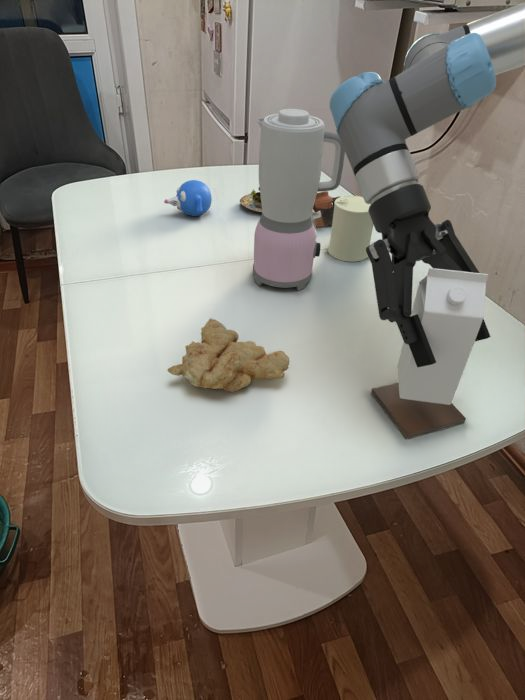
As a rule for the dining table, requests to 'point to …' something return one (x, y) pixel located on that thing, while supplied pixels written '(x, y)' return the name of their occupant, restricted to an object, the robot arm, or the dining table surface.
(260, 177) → the blender
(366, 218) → the can
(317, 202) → the pottery mug
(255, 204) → the plate of food
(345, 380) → the dining table surface
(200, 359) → the ginger root
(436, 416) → the coaster board
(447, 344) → the milk carton
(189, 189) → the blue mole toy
